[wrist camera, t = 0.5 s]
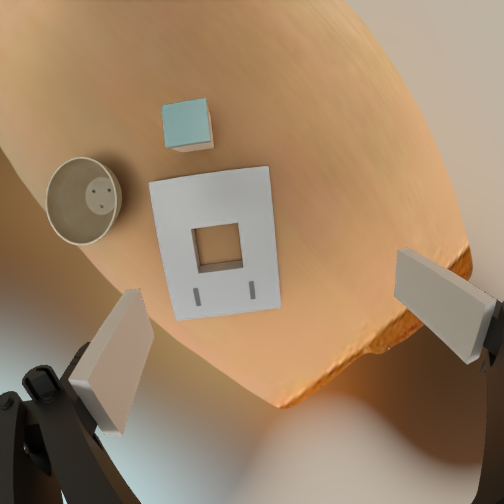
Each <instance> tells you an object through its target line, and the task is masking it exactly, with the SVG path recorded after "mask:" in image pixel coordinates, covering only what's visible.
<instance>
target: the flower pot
mask: <svg viewBox="0 0 504 504" xmlns="http://www.w3.org/2000/svg"><path fill="white" fill-rule="evenodd" d="M108 189H110V190H109V191H108ZM93 191H94V192H95V193H93ZM121 204H122V192H121V187H120V184H119V182H118V179H117V178H116V176H115V175H114V173H113V172H112V171H111V170H110V169H109V168H108V167H107V166H105V165H104V164H102V163H101V162H99V161H97V160H95V159H92V158H88V157H76V158H72V159H69V160H67V161H65V162H64V163H63V164H61V165H60V166H59V167H58V168H57V169H56V171H55V172H54V174H53V175H52V177H51V179H50V181H49V184H48V187H47V191H46V211H47V216H48V219H49V221H50V223H51V225H52V227H53V229H54V230H55V232H56V233H57V234H58V235H59V236H60V237H61V238H62V239H63V240H65V241H66V242H68V243H71V244H74V245H79V246H85V245H90V244H93V243H95V242H97V241H98V240H100V239H101V238H102V237H103V236H104V235H105V234H106V233H107V232H108V231H109V230H110V229H111V227H112V226H113V224H114V223H115V221H116V219H117V217H118V215H119V212H120V209H121ZM102 205H103V207H102Z"/></svg>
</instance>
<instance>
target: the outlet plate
mask: <svg viewBox="0 0 504 504" xmlns="http://www.w3.org/2000/svg"><path fill="white" fill-rule="evenodd" d="M149 189H150V196H151V203H152V209H153V215H154V221H155V227H156V232H157V238H158V243H159V248H160V253H161V258H162V263H163V268H164V272H165V277H166V281H167V286H168V290H169V294H170V299H171V303H172V307H173V311H174V315H175V319H176V321H177V320H187V319H197V318H206V317H215V316H223V315H231V314H239V313H247V312H254V311H261V310H268V309H275V308H281V299H280V286H279V274H278V261H277V249H276V238H275V227H274V216H273V205H272V195H271V185H270V175H269V166H261V167H252V168H242V169H234V170H226V171H218V172H210V173H203V174H197V175H190V176H183V177H177V178H171V179H165V180H160V181H154V182H149ZM233 223H238V230H239V238H240V246H241V254H242V260H240V261H232V262H224V263H216V264H208V265H201V266H200V261H199V255H198V249H197V243H196V237H195V230H194V229H195V228H202V227H210V226H217V225H225V224H233Z"/></svg>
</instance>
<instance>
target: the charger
mask: <svg viewBox="0 0 504 504" xmlns="http://www.w3.org/2000/svg"><path fill="white" fill-rule="evenodd" d="M161 107H162V119H163V129H164V139H165V148H168V149H173V150H176V151H179V152H181V153H185V152H191V151H197V150H204V149H211V148H214V142H213V133H212V124H211V116H210V113H209V110H208V106H207V101H206V98H202V99H195V100H189V101H183V102H177V103H172V104H167V105H162V106H161Z"/></svg>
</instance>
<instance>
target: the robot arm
mask: <svg viewBox="0 0 504 504" xmlns="http://www.w3.org/2000/svg"><path fill="white" fill-rule="evenodd" d="M394 297H395V298H396V299H398V300H399V301H400V302H401V303H402V304H403V305H404V306H405V307H407V308H408V309H409V310H410V311H411V312H412V313H413V314H414V315H415V316H417V317H418V318H419V319H420V320H421V321H422V322H423V323H424V324H425V325H427V327H429V328H430V329H431V330H432V331H433V332H434V333H435V334H436V335H437V336H438V337H439V338H440V339H441V340H442V341H443V342H444V343H446V344H447V345H448V346H449V347H450V348H451V349H452V350H453V351H454V352H455V353H456V354H457V355H458V356H459V357H460V358H461V359H462V360H463V361H464V362H465V363H466V364H469V363H471V362H472V361H474V360H476V359H478V358H479V355H480V353H481V350H482V347H483V346H484V347H485V348H486V349H487V352H486V355H485V357H484V360H483V362H482V365H481V368H480V371H479V372H481V371H482V369H483V368H484V367H485V366H486V369H485V372H486V385H487V415H486V434H485V447H484V455H483V463H482V469H481V476H480V481H479V487H478V491H477V494H476V497H475V499H474V500H473V502H472V503H471V504H504V301H503V303H501V302H500V301H498V300H497V299H495V298H494V297H492V296H490V295H489V294H487V293H486V292H484V291H482V290H481V289H479V288H477V287H476V286H475V285H473V284H471V283H470V282H468V281H466V280H464V279H463V278H461V277H459V276H458V275H456V274H454V273H453V272H451V271H449V270H448V269H446V268H444V267H442V266H441V265H439V264H437V263H435V262H434V261H432V260H430V259H428V258H427V257H425V256H423V255H421V254H419V253H418V252H416V251H414V250H412V249H410V248H403V249H397V264H396V278H395V290H394ZM153 339H154V333H153V329H152V327H151V324H150V320H149V317H148V314H147V311H146V307H145V304H144V301H143V297H142V294H141V291H140V288H139V289H131V290H126V291H125V292H124V294H123V295H122V296H121V298H120V299H119V301H118V302H117V304H116V305H115V307H114V308H113V310H112V311H111V313H110V314H109V315H108V317H107V318H106V320H105V321H104V323H103V324H102V326H101V327H100V329H99V331H98V332H97V334H96V335H95V337H94V338H93V340H92V341H91V342H87V343H86V344H85V345H83V346H82V347H81V348H80V349H79V350H78V352H77V353H76V355H75V356H74V358H73V360H72V361H71V362H70V365H69V366H68V367H67V369H66V370H65V372H64V374H63V375H62V377H61V378H60V380H59V379H58V377H57V376H56V374H55V372H54V370H53V369H52V367H51V366H48V365H40V366H37V367H35V368H33V369H31V370H30V371H28V373H27V374H25V376H24V378H23V379H22V385H23V386H24V388H25V389H26V391H27V393H28V394H29V395H30V397H31V398H32V400H30V401H22V400H21V398H20V397H19V395H18V394H17V393H16V392H14V391H8V392H6V393H3V394H2V395H0V504H63V499H62V493H61V490H62V492H63V494H64V497H65V499H66V502H67V504H141V502H140V501H139V500H138V498H137V497H136V496H135V494H134V493H133V492H132V490H131V489H130V487H129V486H128V485H127V483H126V482H125V480H124V479H123V477H122V476H121V474H120V473H119V471H118V470H117V468H116V467H115V465H114V463H113V462H112V460H111V459H110V457H109V455H108V454H107V452H106V450H105V449H104V447H103V445H102V443H101V442H100V440H99V438H98V436H97V435H96V434H95V433H94V432H95V429H96V427H97V425H98V426H99V428H100V429H101V430H102V432H103V433H104V434H105V435H114V436H123V433H124V429H125V426H126V422H127V419H128V416H129V412H130V409H131V406H132V403H133V399H134V396H135V393H136V390H137V387H138V383H139V380H140V377H141V374H142V371H143V368H144V365H145V362H146V359H147V356H148V353H149V351H150V348H151V345H152V342H153ZM24 447H25V450H24Z"/></svg>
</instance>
